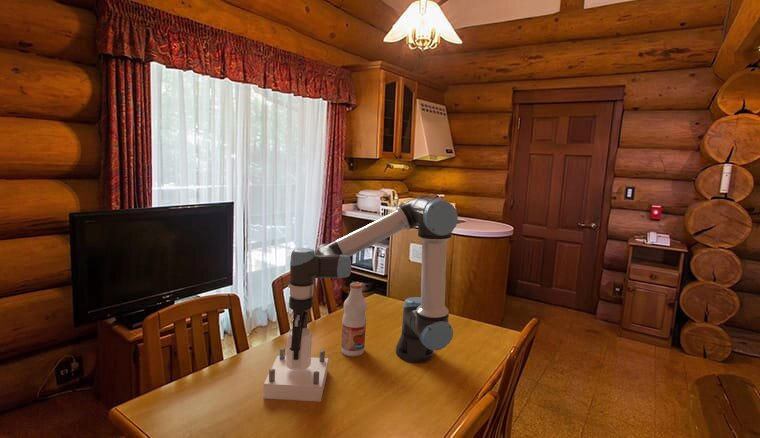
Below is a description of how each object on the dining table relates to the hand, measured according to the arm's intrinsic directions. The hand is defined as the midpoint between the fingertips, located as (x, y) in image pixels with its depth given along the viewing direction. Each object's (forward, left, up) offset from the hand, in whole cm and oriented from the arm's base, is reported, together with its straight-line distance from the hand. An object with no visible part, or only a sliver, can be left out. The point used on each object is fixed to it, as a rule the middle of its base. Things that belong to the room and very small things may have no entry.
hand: (298, 360), depth 133 cm
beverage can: (0, 0, -2) cm, 2 cm away
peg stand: (0, 0, -8) cm, 8 cm away
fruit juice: (-17, -25, -9) cm, 31 cm away
